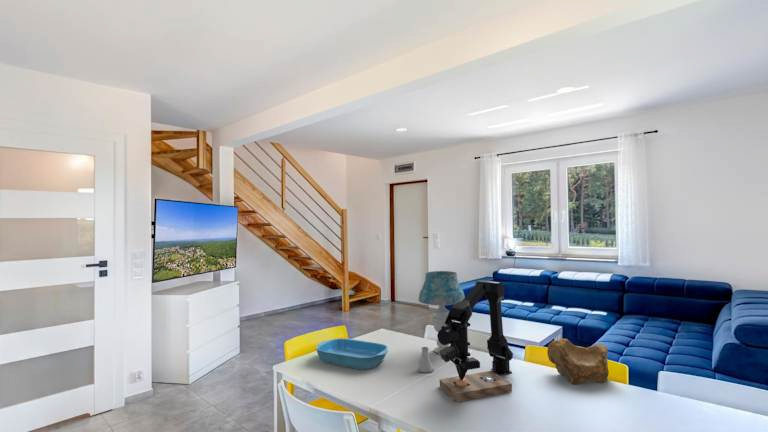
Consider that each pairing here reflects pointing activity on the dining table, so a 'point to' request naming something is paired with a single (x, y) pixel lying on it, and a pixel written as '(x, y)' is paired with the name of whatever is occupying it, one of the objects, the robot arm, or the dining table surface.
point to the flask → (425, 362)
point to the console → (475, 386)
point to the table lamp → (441, 297)
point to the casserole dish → (351, 353)
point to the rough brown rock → (579, 361)
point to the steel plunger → (487, 378)
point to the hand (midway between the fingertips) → (461, 379)
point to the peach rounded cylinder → (461, 382)
